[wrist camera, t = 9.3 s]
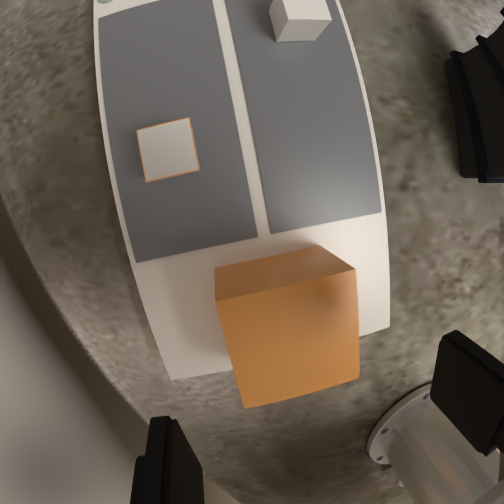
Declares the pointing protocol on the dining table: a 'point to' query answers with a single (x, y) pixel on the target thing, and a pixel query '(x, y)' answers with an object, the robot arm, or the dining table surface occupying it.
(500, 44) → the magazine
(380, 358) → the dining table surface
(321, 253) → the cap
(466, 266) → the dining table surface
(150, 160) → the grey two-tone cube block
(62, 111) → the dining table surface
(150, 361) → the dining table surface
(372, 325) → the board
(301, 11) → the lever
